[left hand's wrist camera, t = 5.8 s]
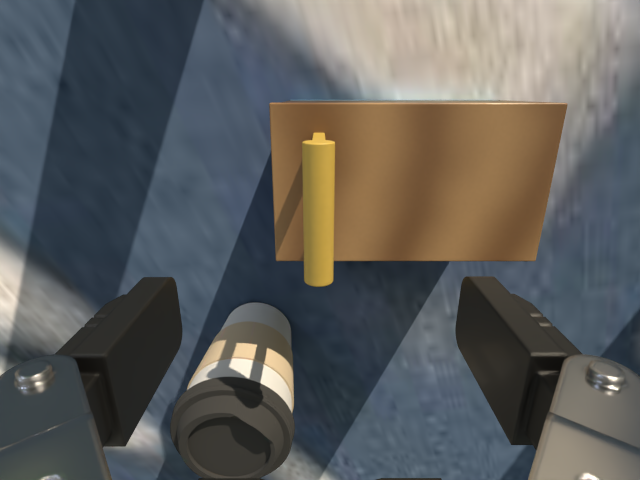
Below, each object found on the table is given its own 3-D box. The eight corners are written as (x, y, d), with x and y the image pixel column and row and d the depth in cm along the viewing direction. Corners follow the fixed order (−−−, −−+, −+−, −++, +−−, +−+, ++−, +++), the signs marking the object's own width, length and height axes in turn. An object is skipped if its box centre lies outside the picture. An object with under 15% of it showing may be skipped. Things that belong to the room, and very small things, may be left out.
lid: (277, 254, 28) (261, 313, 21) (271, 102, 25) (249, 106, 17) (526, 254, 28) (603, 314, 21) (556, 102, 25) (661, 106, 17)
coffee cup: (262, 381, 43) (234, 520, 29) (196, 332, 41) (132, 456, 27) (320, 330, 41) (320, 454, 27) (253, 275, 39) (216, 379, 25)
